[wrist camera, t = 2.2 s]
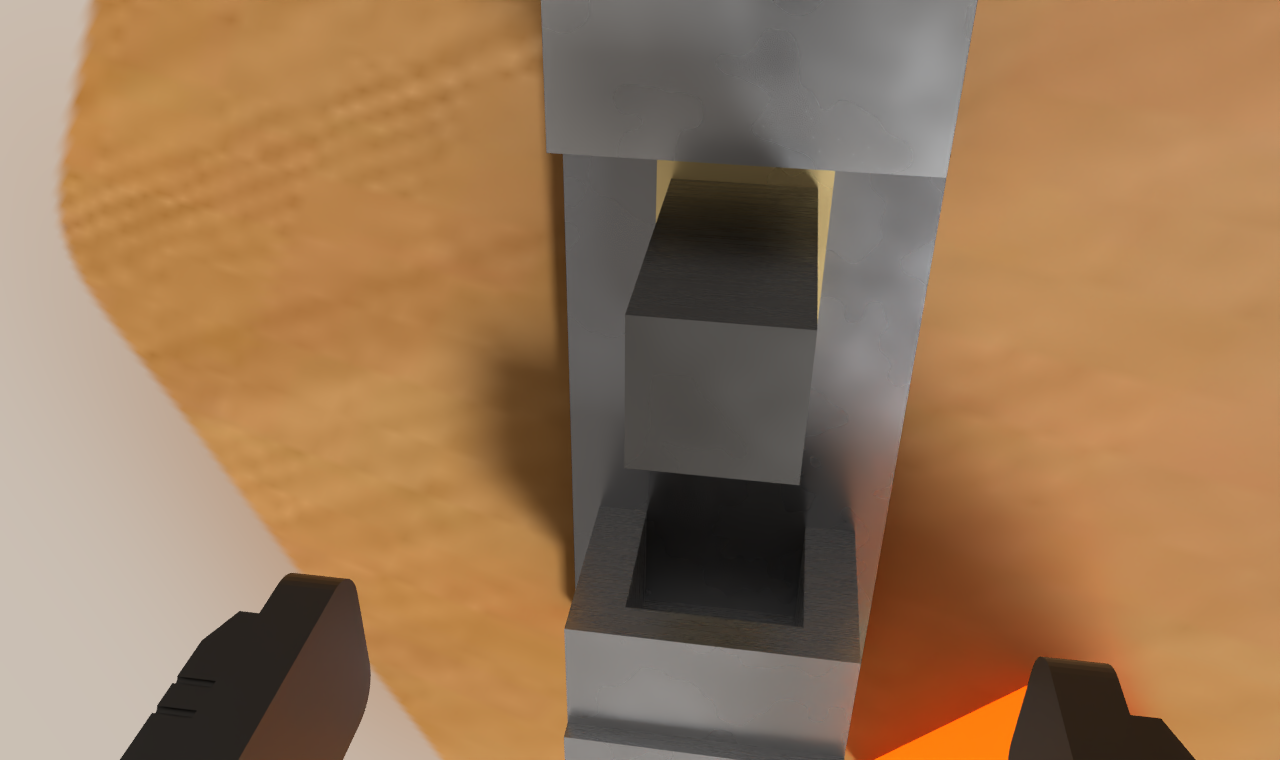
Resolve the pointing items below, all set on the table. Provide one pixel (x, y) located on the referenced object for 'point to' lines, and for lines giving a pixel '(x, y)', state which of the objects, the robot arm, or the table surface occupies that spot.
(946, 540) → the table surface
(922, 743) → the orange juice
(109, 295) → the table surface
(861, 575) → the rail
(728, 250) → the block
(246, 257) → the table surface
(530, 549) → the table surface
